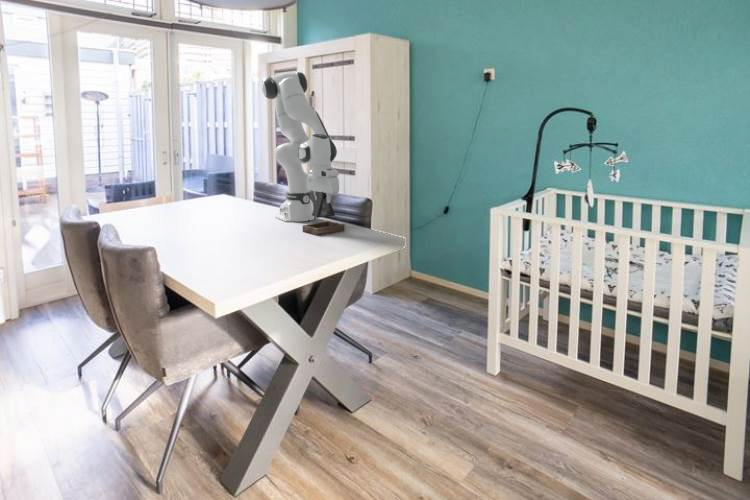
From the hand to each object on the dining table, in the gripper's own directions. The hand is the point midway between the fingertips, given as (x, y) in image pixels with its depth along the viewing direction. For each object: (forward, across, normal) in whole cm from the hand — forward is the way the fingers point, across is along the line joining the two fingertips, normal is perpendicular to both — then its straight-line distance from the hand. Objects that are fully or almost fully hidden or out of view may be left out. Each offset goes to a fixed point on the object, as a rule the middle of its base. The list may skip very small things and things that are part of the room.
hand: (322, 202), depth 238 cm
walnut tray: (+14, 0, 0) cm, 14 cm away
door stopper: (+6, 0, 0) cm, 6 cm away
